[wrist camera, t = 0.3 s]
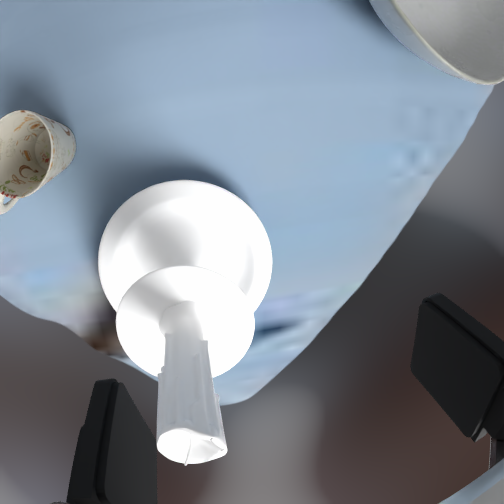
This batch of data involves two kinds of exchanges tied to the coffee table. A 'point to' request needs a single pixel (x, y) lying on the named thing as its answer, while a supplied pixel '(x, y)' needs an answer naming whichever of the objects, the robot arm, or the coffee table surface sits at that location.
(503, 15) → the decorative bowl
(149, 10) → the coffee table surface
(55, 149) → the mug
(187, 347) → the candlestick
